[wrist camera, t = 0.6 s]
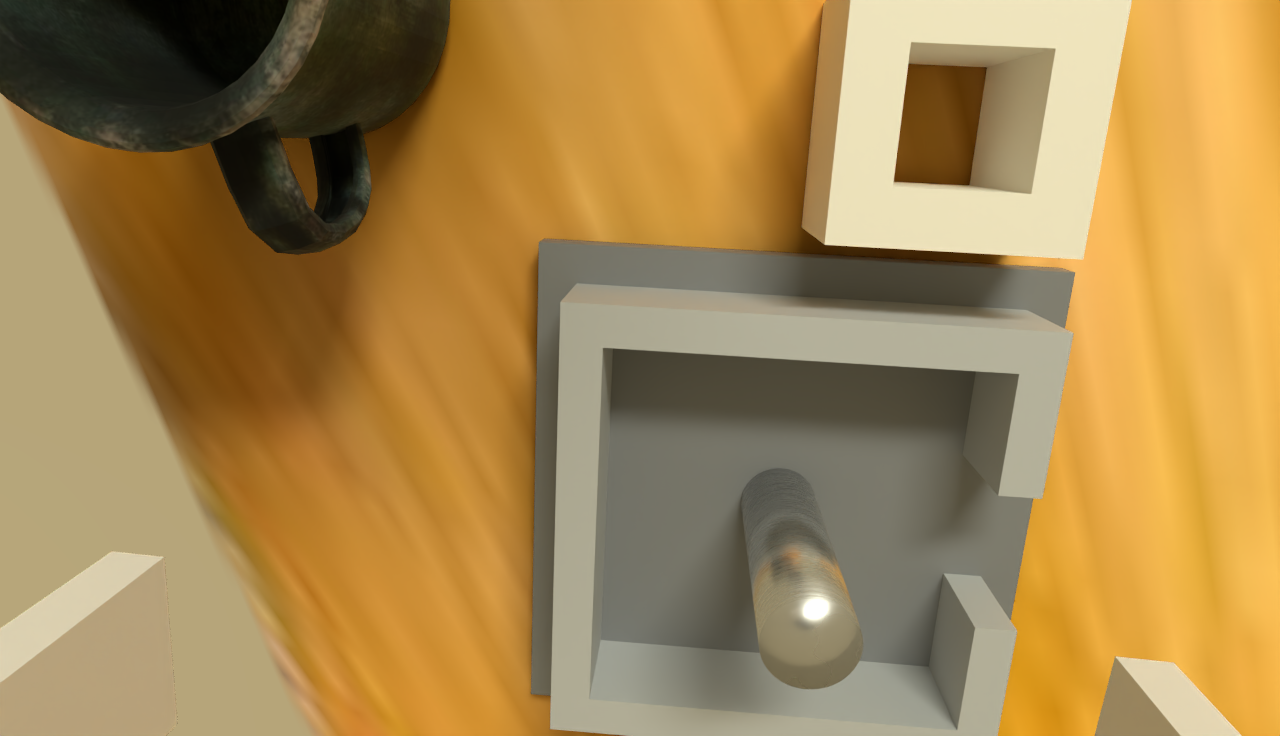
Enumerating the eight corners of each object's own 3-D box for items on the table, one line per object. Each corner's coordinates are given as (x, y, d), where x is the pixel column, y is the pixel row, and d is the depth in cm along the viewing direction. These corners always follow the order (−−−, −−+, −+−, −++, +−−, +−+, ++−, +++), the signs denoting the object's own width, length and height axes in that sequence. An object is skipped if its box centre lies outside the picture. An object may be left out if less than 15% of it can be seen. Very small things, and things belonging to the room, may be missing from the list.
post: (744, 465, 33) (763, 594, 24) (819, 470, 33) (869, 603, 24) (738, 533, 34) (754, 685, 25) (811, 539, 34) (856, 693, 24)
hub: (1012, 239, 32) (1083, 259, 26) (801, 227, 32) (824, 245, 26) (1075, -145, 28) (1173, -220, 23) (838, -152, 29) (874, -228, 23)
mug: (408, -218, 29) (218, -459, 18) (531, 192, 32) (439, 217, 21) (134, -120, 30) (-209, -284, 19) (279, 263, 34) (63, 323, 22)
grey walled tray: (544, 238, 33) (517, 254, 28) (1061, 267, 32) (1129, 290, 27) (536, 677, 38) (511, 757, 33) (980, 714, 37) (1024, 803, 32)
